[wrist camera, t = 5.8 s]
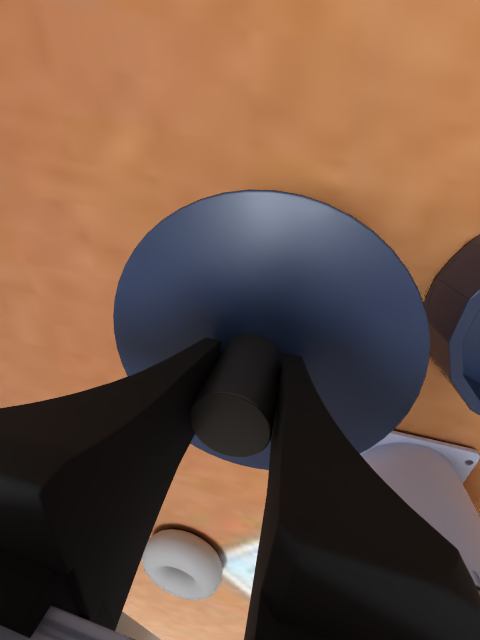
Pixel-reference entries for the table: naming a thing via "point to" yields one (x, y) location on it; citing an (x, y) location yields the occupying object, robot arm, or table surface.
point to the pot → (458, 322)
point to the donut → (182, 564)
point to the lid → (275, 316)
